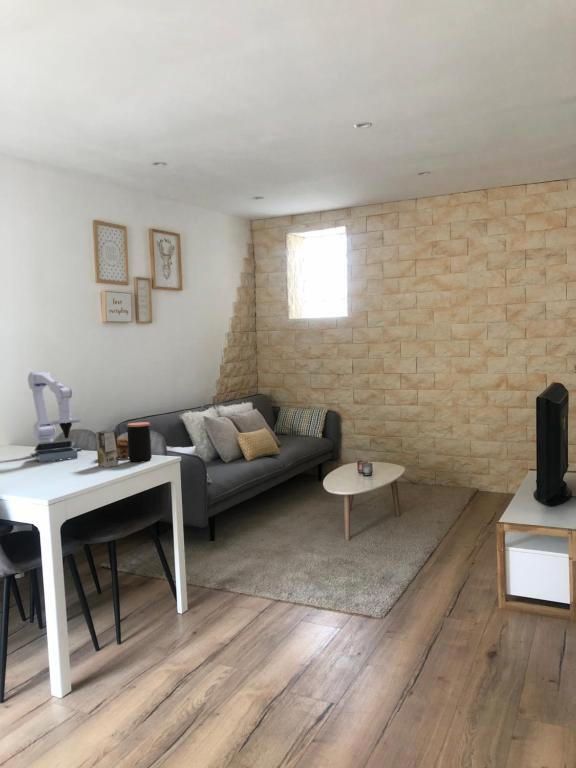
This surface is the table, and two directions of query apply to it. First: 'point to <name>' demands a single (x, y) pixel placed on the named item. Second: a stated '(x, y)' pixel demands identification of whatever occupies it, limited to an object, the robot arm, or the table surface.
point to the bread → (122, 447)
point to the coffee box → (107, 448)
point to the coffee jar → (139, 441)
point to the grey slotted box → (55, 454)
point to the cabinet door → (55, 444)
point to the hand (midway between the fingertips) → (66, 437)
